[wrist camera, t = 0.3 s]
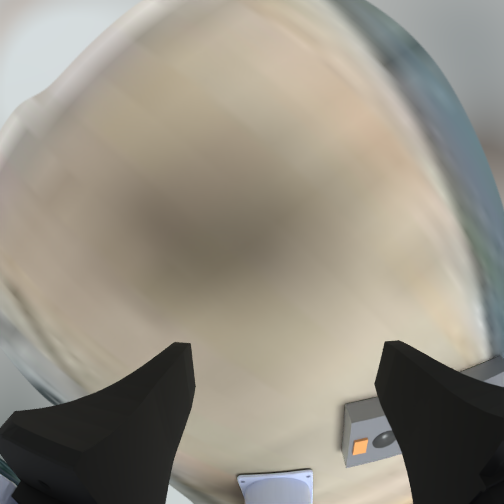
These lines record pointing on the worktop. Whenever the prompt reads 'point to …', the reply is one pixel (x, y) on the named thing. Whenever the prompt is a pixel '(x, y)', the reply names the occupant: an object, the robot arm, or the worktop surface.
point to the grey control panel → (378, 429)
